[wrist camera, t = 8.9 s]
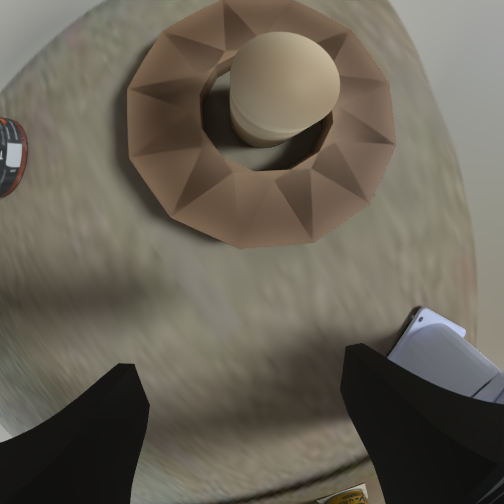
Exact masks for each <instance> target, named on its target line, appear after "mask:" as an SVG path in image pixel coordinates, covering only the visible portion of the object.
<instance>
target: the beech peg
mask: <svg viewBox="0 0 504 504" xmlns="http://www.w3.org/2000/svg"><path fill="white" fill-rule="evenodd" d="M339 93H340V78H339V73H338V70H337V68H336V65H335V63H334V62H333V60H332V58H331V57H330V56H329V54H328V53H327V52H326V51H325V50H324V49H323V48H322V47H321V46H319V45H318V44H317V43H315V42H314V41H312V40H310V39H308V38H306V37H304V36H301V35H298V34H294V33H290V32H270V33H265V34H262V35H259V36H256V37H254V38H253V39H251V40H249V41H248V42H246V43H245V44H244V45H243V46H242V47H241V48H240V49H239V51H238V52H237V53H236V55H235V57H234V59H233V62H232V64H231V70H230V122H231V125H232V128H233V130H234V131H235V133H236V134H237V136H238V137H239V138H240V139H241V140H243V141H244V142H246V143H247V144H249V145H252V146H255V147H260V148H270V147H275V146H278V145H280V144H282V143H284V142H285V141H287V140H288V139H290V138H292V137H293V136H295V135H296V134H298V133H300V132H301V131H303V130H305V129H306V128H308V127H310V126H311V125H313V124H315V123H316V122H318V121H320V120H321V119H323V118H324V117H325V116H326V115H328V114H329V113H330V111H331V110H332V109H333V107H334V106H335V104H336V102H337V100H338V97H339Z"/></svg>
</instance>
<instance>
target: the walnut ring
mask: <svg viewBox="0 0 504 504" xmlns="http://www.w3.org/2000/svg"><path fill="white" fill-rule="evenodd" d="M270 32H290V33H294V34H298V35H301V36H304V37H306V38H308V39H310V40H312V41H314V42H315V43H317V44H318V45H319V46H321V47H322V48H323V49H324V50H325V51H326V52H327V53H328V54H329V56H330V57H331V58H332V60H333V62H334V63H335V65H336V68H337V70H338V73H339V78H340V93H339V97H338V100H337V102H336V104H335V106H334V107H333V109H332V110H331V111H330V113H329V114H328V115H326V116H325V117H324V118H323V119H321V120H322V130H321V132H320V134H319V136H318V138H317V140H316V142H315V144H314V146H313V148H312V150H311V152H310V154H309V155H307V156H306V157H304V158H302V159H301V160H299V161H298V162H296V163H295V164H293V165H291V166H290V167H288V168H287V169H285V170H273V171H256V172H254V171H252V170H250V169H248V168H246V167H244V166H242V165H240V164H238V163H235V162H233V161H231V160H229V159H227V158H225V157H222V156H221V155H220V153H219V152H218V150H217V149H216V148H215V146H214V145H213V143H212V142H211V141H210V139H209V138H208V136H207V135H206V134H205V130H204V114H203V102H204V101H205V99H206V97H207V95H208V93H209V92H210V90H211V88H212V86H213V85H214V83H215V81H216V79H217V78H218V77H220V76H221V75H223V74H225V73H226V72H228V71H230V70H231V64H232V62H233V59H234V57H235V55H236V53H237V52H238V51H239V49H240V48H241V47H242V46H243V45H244V44H245V43H246V42H248V41H249V40H251V39H253V38H254V37H256V36H259V35H262V34H265V33H270ZM127 125H128V148H129V159H130V160H131V162H132V163H133V164H134V166H135V167H136V169H137V170H138V172H139V173H140V175H141V176H142V178H143V179H144V181H145V182H146V183H147V185H148V186H149V188H150V189H151V191H152V192H153V194H154V195H155V196H156V198H157V199H158V201H159V202H160V203H161V205H162V206H163V208H164V209H165V210H166V212H167V213H168V215H169V216H170V217H171V218H172V219H175V220H177V221H179V222H181V223H183V224H186V225H188V226H190V227H192V228H194V229H197V230H199V231H201V232H203V233H205V234H208V235H210V236H212V237H214V238H216V239H219V240H221V241H223V242H225V243H227V244H230V245H232V246H234V247H236V248H239V249H246V248H257V247H269V246H281V245H293V244H305V243H314V242H315V241H317V240H318V239H320V238H321V237H323V236H324V235H325V234H327V233H328V232H330V231H331V230H333V229H334V228H336V227H337V226H339V225H340V224H341V223H343V222H344V221H346V220H347V219H349V218H350V217H352V216H353V215H354V214H356V213H357V212H359V211H360V210H362V209H363V208H364V207H366V206H367V205H369V204H370V202H371V200H372V198H373V196H374V194H375V192H376V189H377V187H378V185H379V183H380V181H381V179H382V176H383V174H384V172H385V170H386V167H387V165H388V163H389V161H390V158H391V156H392V154H393V151H394V149H395V147H396V137H395V126H394V117H393V108H392V101H391V94H390V87H389V82H388V80H387V79H386V77H385V76H384V74H383V73H382V71H381V70H380V68H379V67H378V65H377V64H376V62H375V61H374V59H373V58H372V57H371V55H370V54H369V53H368V51H367V50H366V48H365V47H364V46H363V44H362V43H361V42H360V41H359V39H358V38H357V37H356V35H355V34H354V33H353V32H352V30H351V29H349V28H347V27H345V26H344V25H342V24H340V23H338V22H337V21H335V20H333V19H331V18H329V17H327V16H325V15H323V14H321V13H319V12H317V11H315V10H313V9H311V8H309V7H307V6H305V5H303V4H300V3H298V2H296V1H294V0H220V1H218V2H216V3H214V4H212V5H210V6H208V7H205V8H203V9H201V10H200V11H198V12H196V13H194V14H192V15H190V16H188V17H186V18H184V19H183V20H181V21H179V22H177V23H176V24H174V25H172V26H171V27H169V28H167V29H166V30H164V31H163V32H162V33H161V34H160V36H159V37H158V39H157V40H156V42H155V43H154V45H153V46H152V48H151V49H150V51H149V52H148V54H147V56H146V57H145V59H144V60H143V62H142V64H141V65H140V67H139V69H138V71H137V72H136V74H135V76H134V77H133V79H132V81H131V83H130V85H129V87H128V88H127Z"/></svg>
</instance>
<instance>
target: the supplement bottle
mask: <svg viewBox="0 0 504 504" xmlns="http://www.w3.org/2000/svg"><path fill="white" fill-rule="evenodd" d="M27 154H28V143H27V137H26V134H25V131H24V129H23V127H22V126H21V125H20V124H19V123H18V122H16V121H14V120H10V119H7V118H2V117H0V197H2V196H6V195H8V194H9V193H11V192H12V191H13V190H14V189H15V187H16V186H17V185H18V183H19V182H20V180H21V178H22V175H23V172H24V170H25V166H26V162H27Z"/></svg>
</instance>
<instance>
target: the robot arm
mask: <svg viewBox="0 0 504 504" xmlns="http://www.w3.org/2000/svg"><path fill="white" fill-rule="evenodd" d="M419 318H420V319H419ZM418 319H419V320H418ZM465 334H466V330H465V329H464V328H462V327H460V326H459V325H457V324H455V323H453V322H451V321H450V320H448V319H446V318H444V317H442V316H440V315H439V314H437V313H435V312H433V311H431V310H429V309H428V308H426V307H421V308H420V309H419V310H418V312H417V313H416V315H415V317H414V318H413V320H412V321H411V323H410V325H409V326H408V328H407V329H406V331H405V332H404V334H403V335H402V337H401V338H400V340H399V341H398V343H397V344H396V346H395V347H394V349H393V350H392V352H391V353H390V354H389V356H388V357H387V358H386V357H384V356H383V355H381V354H380V353H378V352H376V351H375V350H373V349H371V348H370V347H368V346H366V345H365V344H363V343H360V344H355V345H350V346H346V349H345V358H344V365H343V373H342V380H341V387H340V391H341V394H342V397H343V400H344V403H345V406H346V409H347V412H348V414H349V416H350V418H351V420H352V422H353V424H354V426H355V428H356V430H357V432H358V434H359V436H360V438H361V440H362V442H363V444H364V446H365V448H366V450H367V452H368V454H369V456H370V458H371V460H372V463H373V465H374V467H375V470H376V473H377V476H378V479H379V482H380V485H381V489H382V492H383V496H384V499H385V503H386V504H504V373H503V372H502V371H501V370H500V369H499V368H498V367H497V366H495V365H494V364H493V363H492V362H491V361H490V360H488V359H487V358H486V357H485V356H484V355H483V354H482V353H480V352H479V351H478V350H477V349H476V348H474V347H473V346H472V345H471V344H470V343H468V342H467V341H466V340H465V339H464V338H463V337H464V336H465ZM149 407H150V405H149V402H148V400H147V397H146V395H145V392H144V389H143V387H142V384H141V381H140V379H139V376H138V373H137V370H136V368H135V365H134V364H123V363H119V364H117V365H116V366H115V367H113V368H112V369H111V370H110V371H108V372H107V373H106V374H105V375H104V376H103V377H101V378H100V379H99V380H98V381H97V382H96V383H95V384H93V385H92V386H91V387H90V388H89V389H87V390H86V391H85V392H84V393H83V394H82V395H80V396H79V397H78V398H77V399H75V400H74V401H73V402H71V403H70V404H69V405H68V406H66V407H65V408H64V409H62V410H61V411H60V412H58V413H57V414H56V415H54V416H53V417H51V418H50V419H48V420H46V421H45V422H43V423H41V424H40V425H38V426H36V427H35V428H33V429H31V430H29V431H27V432H24V433H22V434H20V435H18V436H16V437H14V438H12V439H9V440H7V441H4V442H1V443H0V504H130V498H131V488H132V483H133V478H134V474H135V470H136V466H137V462H138V459H139V455H140V451H141V448H142V444H143V440H144V437H145V433H146V429H147V423H148V415H149Z"/></svg>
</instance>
